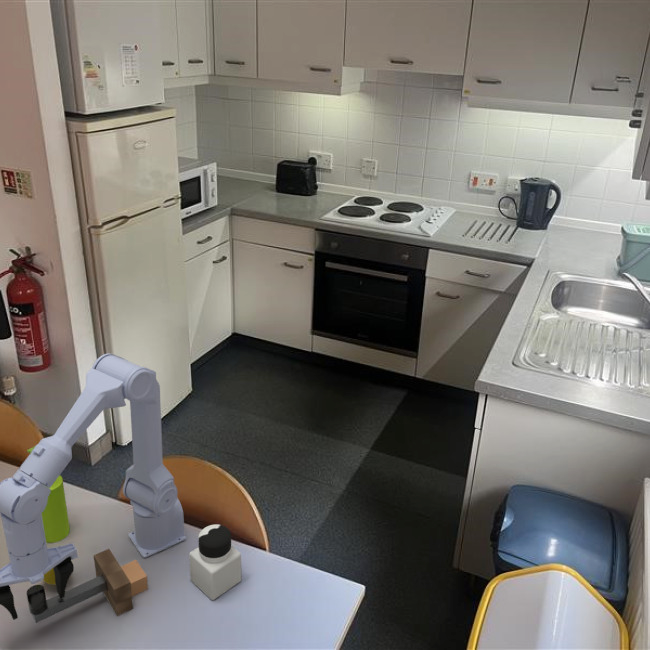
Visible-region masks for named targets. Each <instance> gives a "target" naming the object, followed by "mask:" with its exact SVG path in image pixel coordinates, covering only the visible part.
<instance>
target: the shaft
mask: <svg viewBox="0 0 650 650" xmlns="http://www.w3.org/2000/svg"><path fill="white" fill-rule="evenodd" d="M45 590H46V589H45V586H44V585H42V584H33V585H32V586H30V587H29V588H28V589H27V591H26V599H27V604H28V609H29V613H30V614H31V615H32V618H33V620H34V622H35V624H37V623H40V622H41V621H44V620H46V619H48V618H50V617H52V616H54V615H56V614H59V613H61V612H63V611H65V610H68V609H69V608H72V607H74V606H77V604H81V603H83V602H85V601H86V600H89V599H90V598H93V597H96V596H98V595H99V594H102V593H103V592H104V591H106V590H108V587H107V581H106V579H105V578H104V576H103V575H101V576H98V577H94V578H93V579H92V578H91V579H90V580H88V581H85V582H83V583H81V584H78V585H77V586H75V587H71V588H70V589H67V590H65V596H64V597H63V598H60V596H59V594H57V595H55V596H52V597H49V598H48V599H47V596H46V591H45Z"/></svg>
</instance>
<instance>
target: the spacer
mask: <svg viewBox="0 0 650 650" xmlns="http://www.w3.org/2000/svg"><path fill="white" fill-rule="evenodd" d="M120 566H121V568H122V569H123V571H124V573H125V574H126V576H127V577H128V579H129V581H130V582H131V592H132V597H134V596H136V595H138V594H141V593H142V592H145V591H146V590H148V588H149V587H148V575H147V573H146V572H145V571H144V569H143V568H142V567H141V565H140V563H139V562H138V560H137V559H134V560H132V561H130V562H128V563H126V564H123V565H120Z"/></svg>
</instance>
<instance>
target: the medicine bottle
mask: <svg viewBox="0 0 650 650" xmlns="http://www.w3.org/2000/svg"><path fill="white" fill-rule="evenodd" d="M197 537H198V547H197V548H194V549H193V550H191V551H190V552H189V555H188V557H189V558H188V559H189V571H190V572H189V574H190V575H189V576H190V581H191V582H192V583H193V584H194V585H195V586H196V587H198V589H199V590H200V591H202V592H203V593H204V594H205V595H206V597H208V598H209V599H210V600H211V601H215V600H216V599H218V598H219V597H221V596H222V595H223V594H224V593H226V592H227V591H229V590H230V589H231V588H233V587H234V586H236V585H237V584H240V582H241V581H242V553H241V552H240V551H239V550H237V549H236V548H235V547H233V545H232V532H231V531H230V529H229V528H228V527H226V526H225V525H222V524H218V523H217V524H211V525H208V526H206V527H204V528H203V529H201V531H200V532H199V534H198V536H197Z"/></svg>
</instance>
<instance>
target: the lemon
mask: <svg viewBox="0 0 650 650" xmlns="http://www.w3.org/2000/svg"><path fill="white" fill-rule="evenodd" d="M42 581H43V582H44V583H45V584H48V585H55V586H56V583H55V574H54V569H53V568H52V569H51V570H50V571H48V572H47V573H46V574H44V579H43V580H42Z"/></svg>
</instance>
